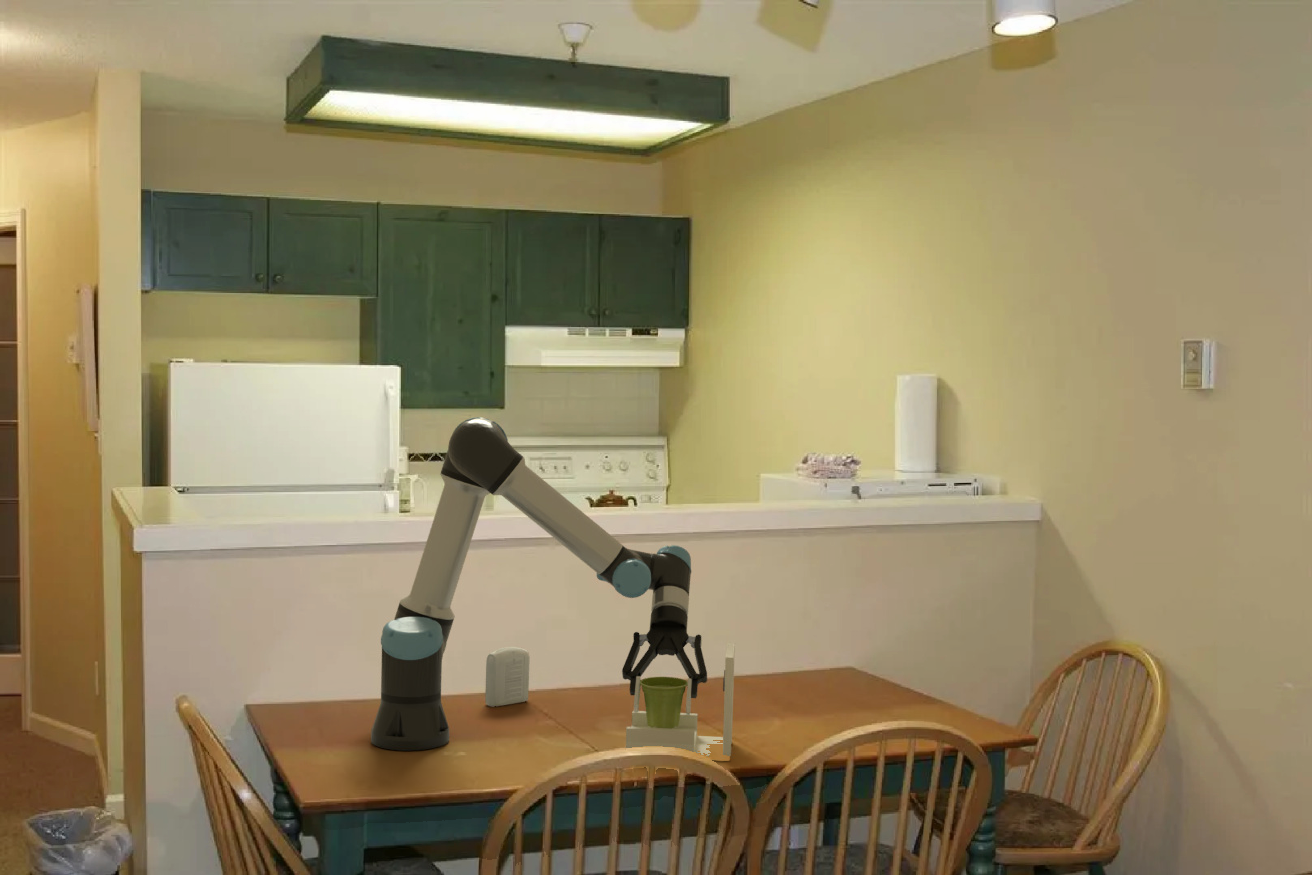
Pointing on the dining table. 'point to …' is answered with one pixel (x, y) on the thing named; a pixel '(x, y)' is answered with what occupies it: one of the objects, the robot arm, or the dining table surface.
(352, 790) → the dining table surface
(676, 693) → the plant pot
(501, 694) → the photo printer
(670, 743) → the bracket shelf
